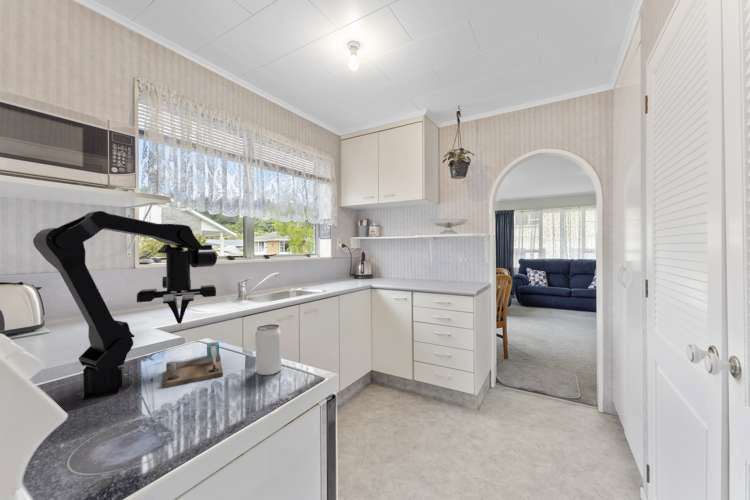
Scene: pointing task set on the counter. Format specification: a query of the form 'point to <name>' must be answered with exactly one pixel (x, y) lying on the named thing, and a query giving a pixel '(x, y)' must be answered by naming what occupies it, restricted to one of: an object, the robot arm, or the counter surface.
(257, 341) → the can
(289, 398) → the counter surface
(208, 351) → the leg
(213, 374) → the plate
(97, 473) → the counter surface
